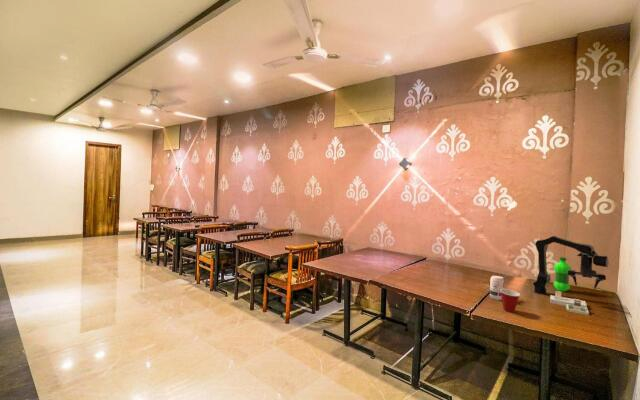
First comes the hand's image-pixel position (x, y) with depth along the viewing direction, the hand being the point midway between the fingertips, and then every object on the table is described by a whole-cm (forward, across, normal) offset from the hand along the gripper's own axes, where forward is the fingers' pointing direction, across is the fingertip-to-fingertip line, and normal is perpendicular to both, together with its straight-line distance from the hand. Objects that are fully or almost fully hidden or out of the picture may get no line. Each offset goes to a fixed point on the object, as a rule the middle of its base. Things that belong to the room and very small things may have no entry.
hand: (585, 287), depth 199 cm
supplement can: (+12, -48, -22) cm, 54 cm away
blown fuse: (+11, -5, -17) cm, 21 cm away
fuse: (+11, -14, -7) cm, 19 cm away
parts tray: (+12, -5, -18) cm, 22 cm away
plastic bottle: (+12, -11, +30) cm, 34 cm away
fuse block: (+12, -9, -7) cm, 17 cm away
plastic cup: (+12, -39, -42) cm, 59 cm away
